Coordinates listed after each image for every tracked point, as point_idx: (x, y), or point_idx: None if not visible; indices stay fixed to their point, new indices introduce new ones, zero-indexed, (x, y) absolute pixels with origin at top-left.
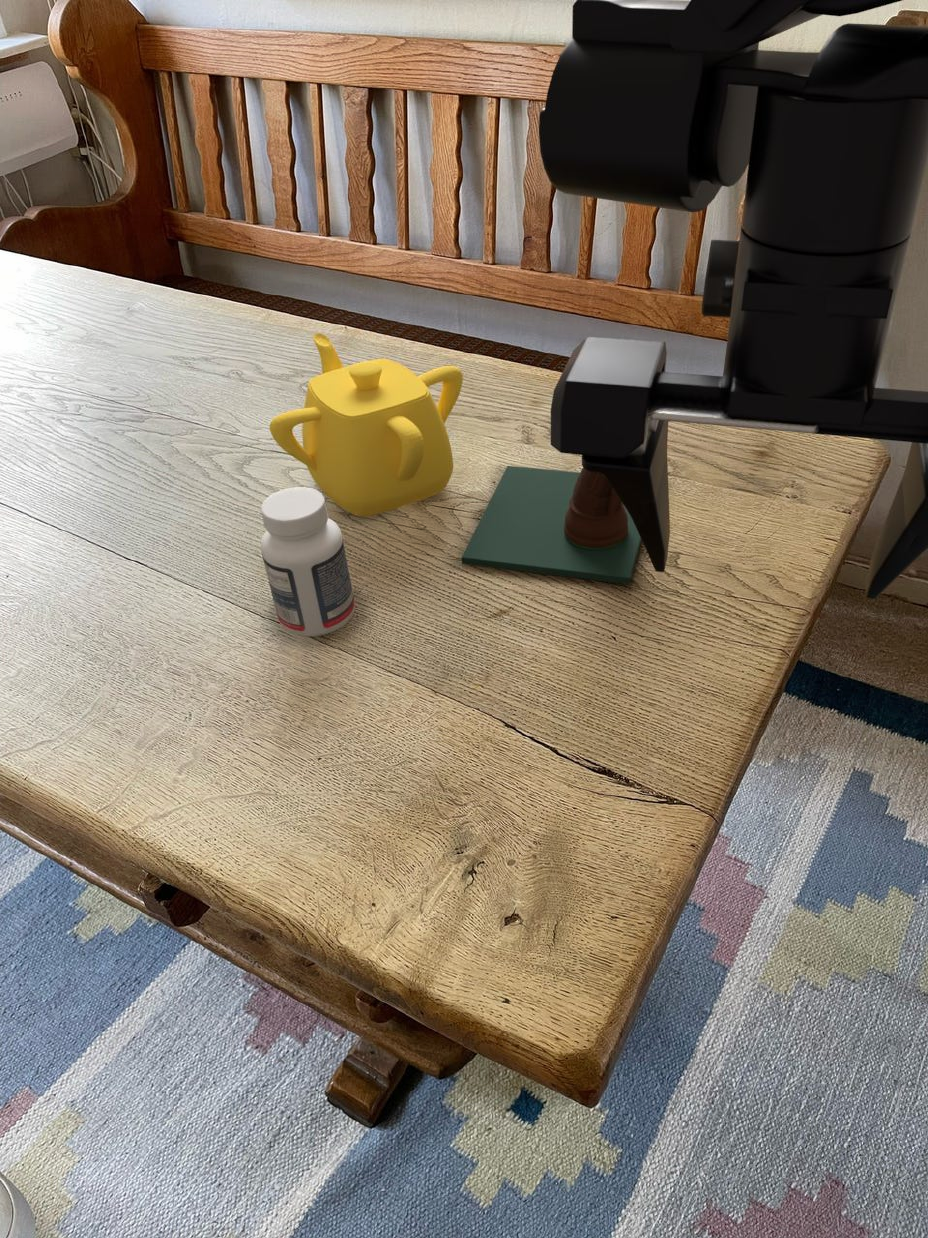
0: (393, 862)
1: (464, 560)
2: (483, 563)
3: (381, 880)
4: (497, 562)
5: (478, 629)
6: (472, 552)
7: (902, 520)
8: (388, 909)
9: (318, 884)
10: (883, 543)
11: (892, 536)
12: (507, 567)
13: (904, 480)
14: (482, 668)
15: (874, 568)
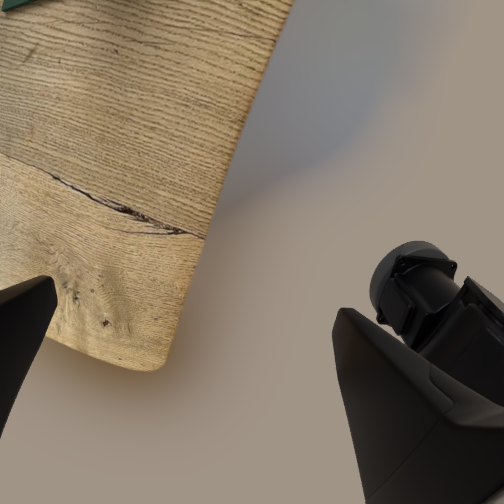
0: None
1: (4, 10)
2: (16, 6)
3: None
4: (23, 2)
5: (19, 78)
6: (7, 1)
7: (376, 479)
8: (52, 320)
9: None
10: (364, 391)
11: (366, 442)
12: (32, 1)
13: (432, 446)
14: (27, 121)
15: (344, 374)
